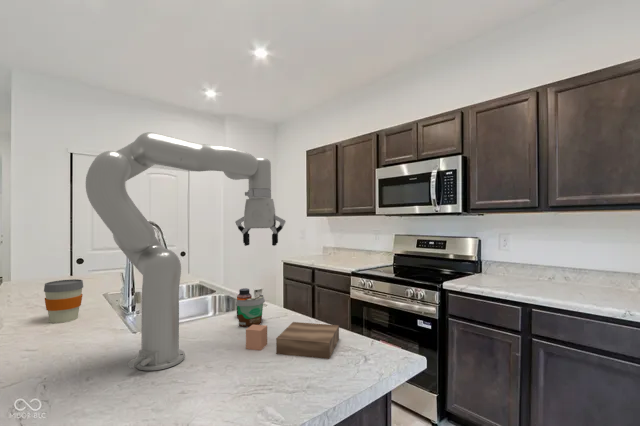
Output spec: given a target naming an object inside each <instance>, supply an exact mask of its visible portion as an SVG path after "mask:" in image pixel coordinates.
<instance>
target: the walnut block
mask: <svg viewBox="0 0 640 426" xmlns="http://www.w3.org/2000/svg"><path fill="white" fill-rule="evenodd" d="M339 340H340V325H339V324H323V323H313V322H311V323H310V322H298V321H293V322H291V323H290V324H289V325H288V326H287V327H286V329H284V330H283V331H282V332H281V333H280V334H279V335H278V336H277V337H276V339H275V342H276V343H275V344H276V345H275V347H276V348H275V350H276V351H275V353H276V355H285V356H295V357H304V358H315V359H324V360H325V359H326V360H329V359H330V358H331V356H332V354H333V352H334V350H335V349H336V346H337V344H338V342H339Z"/></svg>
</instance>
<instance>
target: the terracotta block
mask: <svg viewBox="0 0 640 426" xmlns="http://www.w3.org/2000/svg"><path fill="white" fill-rule="evenodd" d="M267 345H268V325H265V324H264V325H263V324H260V325H251V326H250V327H246V329H245V350H253V351H262V350H263V349H264V348H265V347H267Z"/></svg>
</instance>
